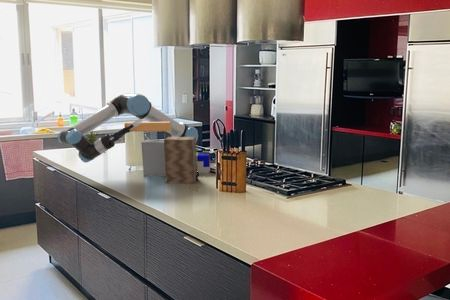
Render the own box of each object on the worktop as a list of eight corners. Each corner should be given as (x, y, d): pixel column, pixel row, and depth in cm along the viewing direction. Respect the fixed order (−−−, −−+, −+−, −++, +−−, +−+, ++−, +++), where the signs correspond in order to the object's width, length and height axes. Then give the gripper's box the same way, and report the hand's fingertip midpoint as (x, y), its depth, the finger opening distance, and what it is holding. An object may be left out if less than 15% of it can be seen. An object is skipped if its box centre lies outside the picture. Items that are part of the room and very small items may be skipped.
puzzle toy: (209, 172, 270) (208, 155, 268) (191, 173, 270) (191, 155, 268) (210, 168, 280) (209, 151, 278) (193, 169, 280) (192, 152, 278)
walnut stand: (166, 182, 250) (163, 139, 245) (170, 178, 258) (168, 136, 254) (194, 183, 248) (192, 139, 243) (197, 178, 256) (195, 136, 252)
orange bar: (124, 131, 250) (124, 123, 249) (127, 130, 254) (126, 122, 253) (169, 131, 247) (169, 122, 246) (171, 129, 251) (170, 121, 250)
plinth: (143, 175, 267) (141, 142, 263) (148, 172, 275) (146, 139, 272) (171, 175, 264) (169, 142, 261) (175, 172, 273) (173, 139, 270)
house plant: (98, 149, 350) (97, 127, 347) (107, 152, 340) (105, 129, 337) (80, 152, 342) (78, 130, 338) (88, 155, 331) (86, 131, 328)
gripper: (114, 146, 263) (148, 125, 258) (102, 152, 247) (138, 129, 242) (106, 135, 263) (141, 113, 258) (94, 140, 246) (130, 117, 241)
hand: (139, 121), depth 250 cm, fingers closed on orange bar, 4 cm apart
